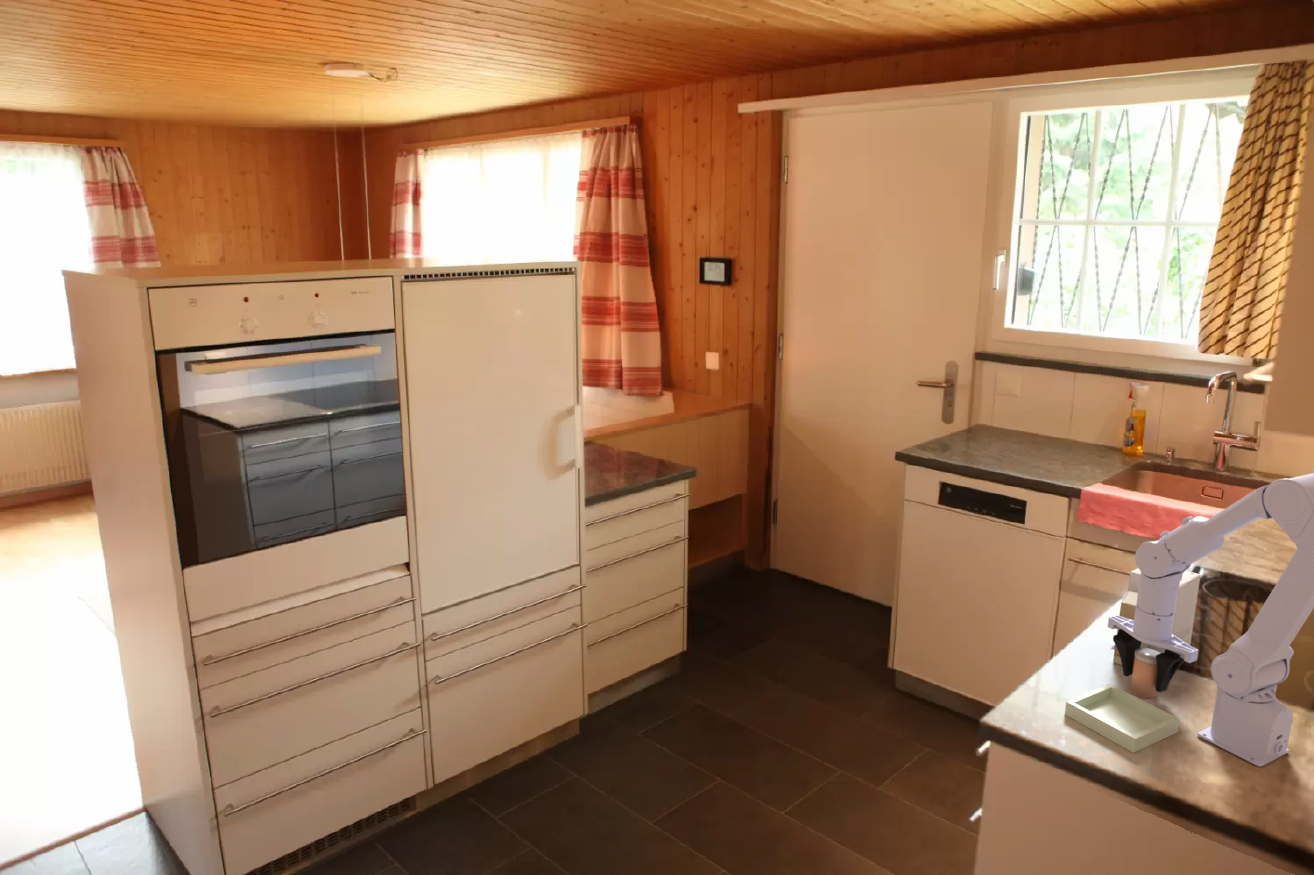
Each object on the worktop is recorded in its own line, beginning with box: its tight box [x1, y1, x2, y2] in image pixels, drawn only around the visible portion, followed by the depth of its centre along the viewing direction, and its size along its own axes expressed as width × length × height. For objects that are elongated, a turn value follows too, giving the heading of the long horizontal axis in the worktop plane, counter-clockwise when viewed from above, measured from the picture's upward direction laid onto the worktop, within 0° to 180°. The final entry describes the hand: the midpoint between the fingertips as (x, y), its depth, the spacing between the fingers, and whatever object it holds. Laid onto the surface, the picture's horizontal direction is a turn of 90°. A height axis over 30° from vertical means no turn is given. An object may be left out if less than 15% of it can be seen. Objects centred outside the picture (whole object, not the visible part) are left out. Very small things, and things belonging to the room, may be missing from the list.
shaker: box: [1129, 648, 1161, 699], centre depth 151 cm, size 4×4×7 cm
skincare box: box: [1112, 590, 1147, 666], centre depth 160 cm, size 6×4×12 cm
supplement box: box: [1127, 567, 1201, 653], centre depth 165 cm, size 9×9×15 cm
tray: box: [1064, 683, 1180, 754], centre depth 142 cm, size 12×11×2 cm
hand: (1144, 682), depth 151 cm, fingers open, 5 cm apart
